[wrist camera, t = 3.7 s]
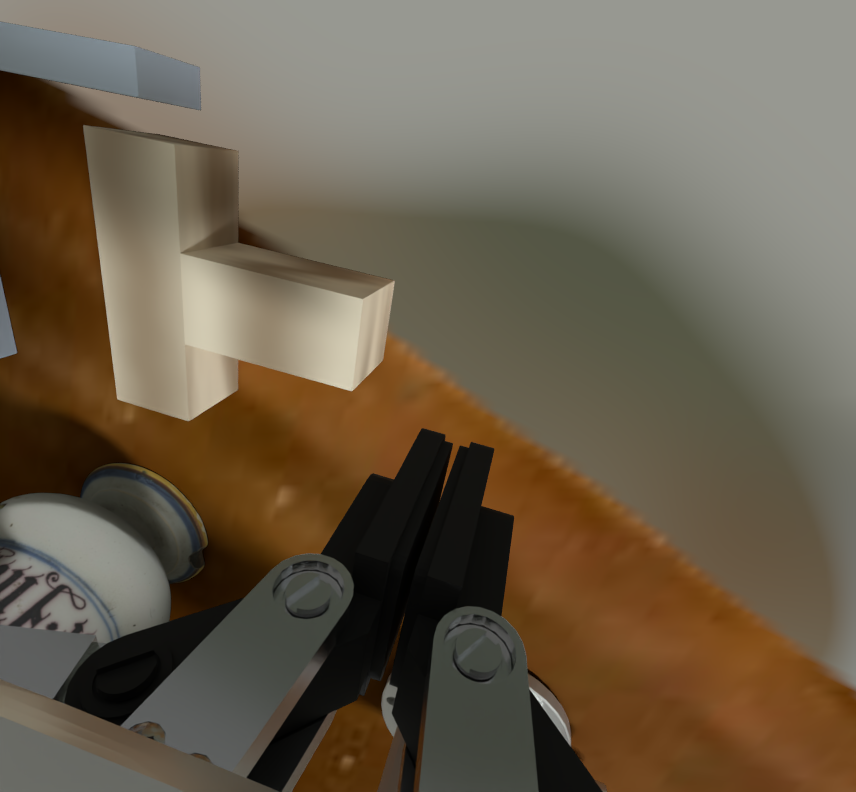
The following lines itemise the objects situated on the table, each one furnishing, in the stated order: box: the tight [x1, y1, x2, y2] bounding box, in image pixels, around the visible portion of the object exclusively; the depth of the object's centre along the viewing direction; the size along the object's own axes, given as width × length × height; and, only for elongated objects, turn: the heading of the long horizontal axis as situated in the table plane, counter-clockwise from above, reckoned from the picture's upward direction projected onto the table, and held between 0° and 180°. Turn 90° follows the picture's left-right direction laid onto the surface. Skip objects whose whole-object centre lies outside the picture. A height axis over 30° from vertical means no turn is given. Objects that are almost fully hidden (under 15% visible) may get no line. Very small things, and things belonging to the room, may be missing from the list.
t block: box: [83, 125, 395, 421], centre depth 22 cm, size 12×12×4 cm
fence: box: [0, 22, 201, 358], centre depth 23 cm, size 15×17×4 cm
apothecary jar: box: [0, 463, 208, 643], centre depth 25 cm, size 12×12×18 cm
